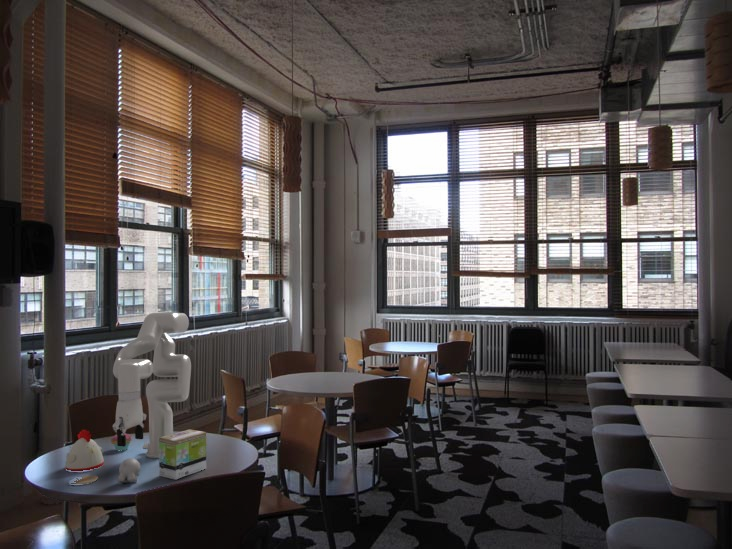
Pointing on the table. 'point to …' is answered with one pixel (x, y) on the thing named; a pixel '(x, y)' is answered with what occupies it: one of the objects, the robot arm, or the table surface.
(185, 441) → the tea box
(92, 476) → the cork coaster
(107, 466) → the table surface
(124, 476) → the chubby cartoon animal
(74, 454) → the white cream cake
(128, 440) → the cupcake
